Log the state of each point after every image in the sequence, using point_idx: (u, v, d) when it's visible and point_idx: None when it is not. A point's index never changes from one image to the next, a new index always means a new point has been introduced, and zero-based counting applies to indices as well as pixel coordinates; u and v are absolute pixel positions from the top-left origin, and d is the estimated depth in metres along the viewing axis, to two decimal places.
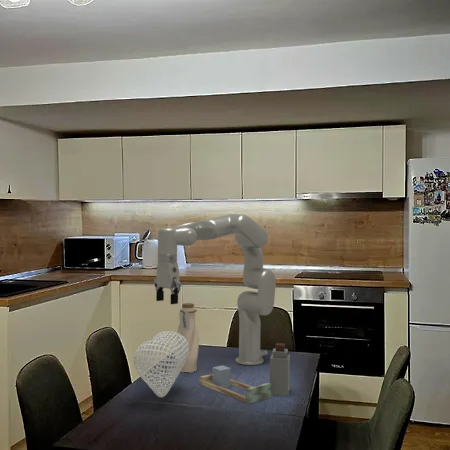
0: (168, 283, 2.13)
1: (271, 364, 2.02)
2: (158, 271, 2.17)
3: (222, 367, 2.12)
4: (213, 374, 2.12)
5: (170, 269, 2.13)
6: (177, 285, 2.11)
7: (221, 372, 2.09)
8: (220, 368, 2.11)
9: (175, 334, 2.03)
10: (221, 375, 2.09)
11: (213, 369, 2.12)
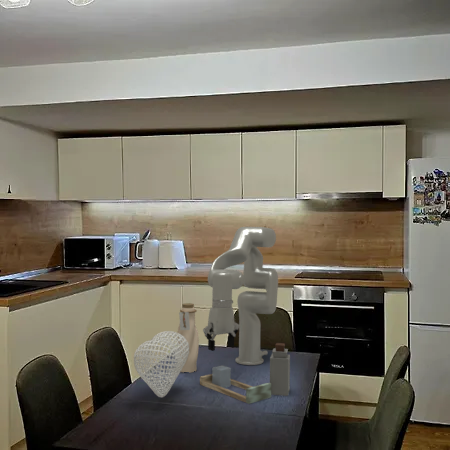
0: (232, 327, 2.12)
1: (271, 364, 2.02)
2: (220, 318, 2.08)
3: (222, 367, 2.12)
4: (213, 374, 2.12)
5: None
6: (237, 327, 2.16)
7: (221, 372, 2.09)
8: (220, 368, 2.11)
9: (175, 334, 2.03)
10: (221, 375, 2.09)
11: (213, 369, 2.12)
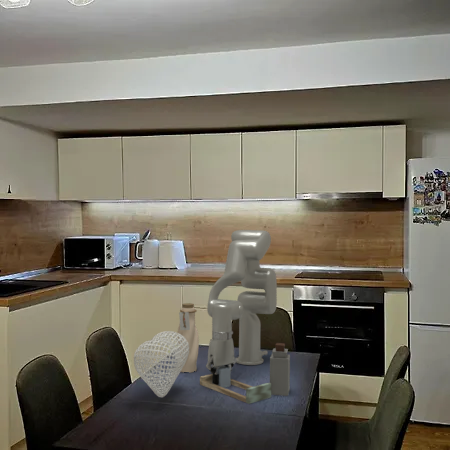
0: (232, 358, 2.13)
1: (271, 364, 2.02)
2: (220, 350, 2.08)
3: (222, 367, 2.12)
4: None
5: None
6: (234, 361, 2.15)
7: (221, 372, 2.09)
8: (220, 368, 2.11)
9: (175, 334, 2.03)
10: (221, 375, 2.09)
11: None
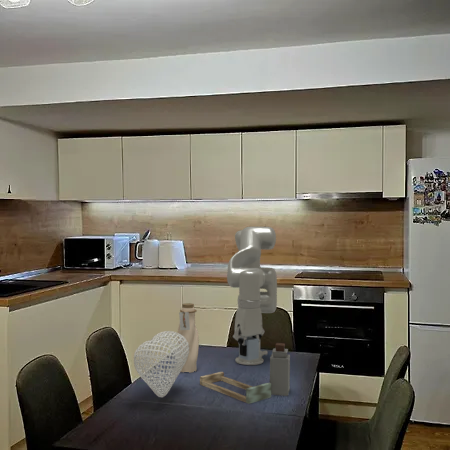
0: (260, 329, 2.01)
1: (271, 364, 2.02)
2: (248, 320, 1.96)
3: (249, 338, 2.01)
4: None
5: None
6: (262, 332, 2.03)
7: (249, 343, 1.97)
8: (248, 339, 1.99)
9: (175, 334, 2.03)
10: (249, 346, 1.97)
11: None
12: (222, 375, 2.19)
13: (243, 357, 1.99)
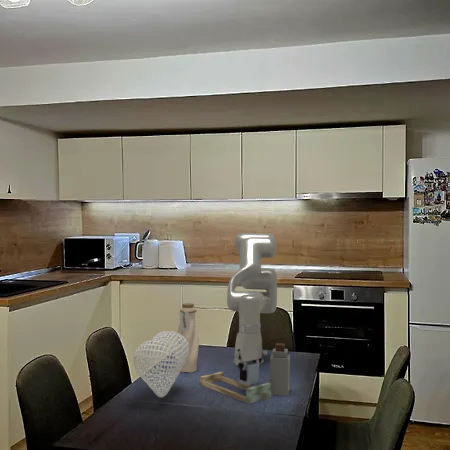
0: (260, 353, 2.01)
1: (271, 364, 2.02)
2: (248, 344, 1.96)
3: (250, 362, 2.00)
4: None
5: None
6: (262, 357, 2.03)
7: (249, 368, 1.97)
8: (248, 363, 1.99)
9: (175, 334, 2.03)
10: (249, 371, 1.97)
11: None
12: (222, 375, 2.19)
13: (243, 382, 1.98)
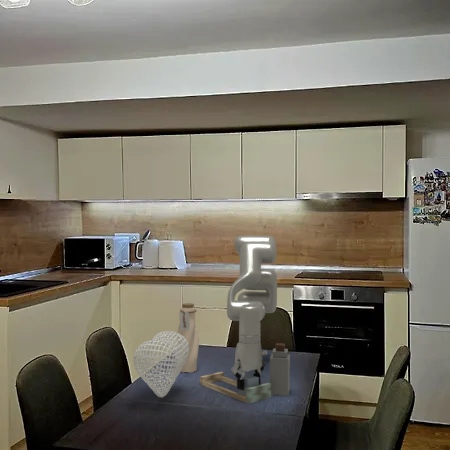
0: (260, 363, 2.01)
1: (271, 364, 2.02)
2: (248, 355, 1.96)
3: (249, 376, 2.01)
4: None
5: None
6: (264, 364, 2.04)
7: (249, 382, 1.97)
8: (248, 377, 1.99)
9: (175, 334, 2.03)
10: (249, 385, 1.97)
11: None
12: (222, 375, 2.19)
13: None
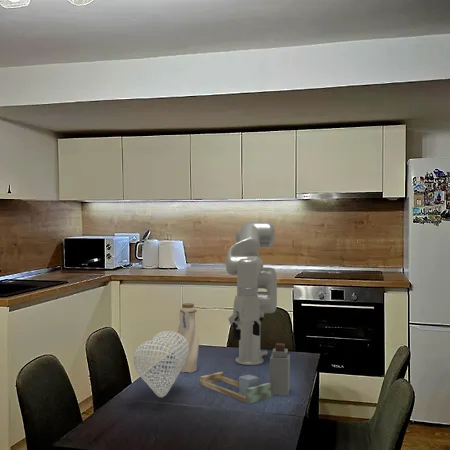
0: (258, 315, 2.06)
1: (271, 364, 2.02)
2: (246, 307, 2.01)
3: (249, 376, 2.01)
4: (240, 383, 2.00)
5: None
6: (262, 314, 2.10)
7: (249, 382, 1.97)
8: (248, 377, 1.99)
9: (175, 334, 2.03)
10: (249, 385, 1.97)
11: (240, 378, 2.00)
12: (222, 375, 2.19)
13: None
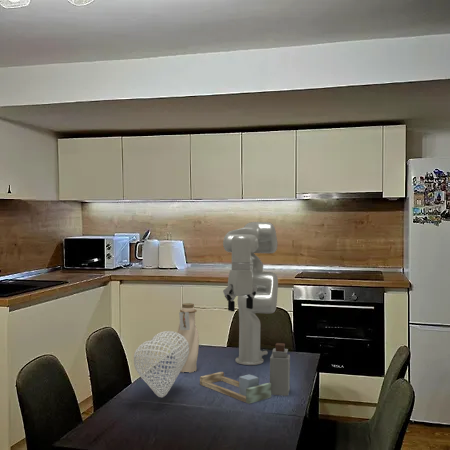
0: (251, 289, 2.19)
1: (271, 364, 2.02)
2: (239, 280, 2.15)
3: (249, 376, 2.01)
4: (240, 383, 2.00)
5: None
6: (255, 289, 2.23)
7: (249, 382, 1.97)
8: (248, 377, 1.99)
9: (175, 334, 2.03)
10: (249, 385, 1.97)
11: (240, 378, 2.00)
12: (222, 375, 2.19)
13: None
